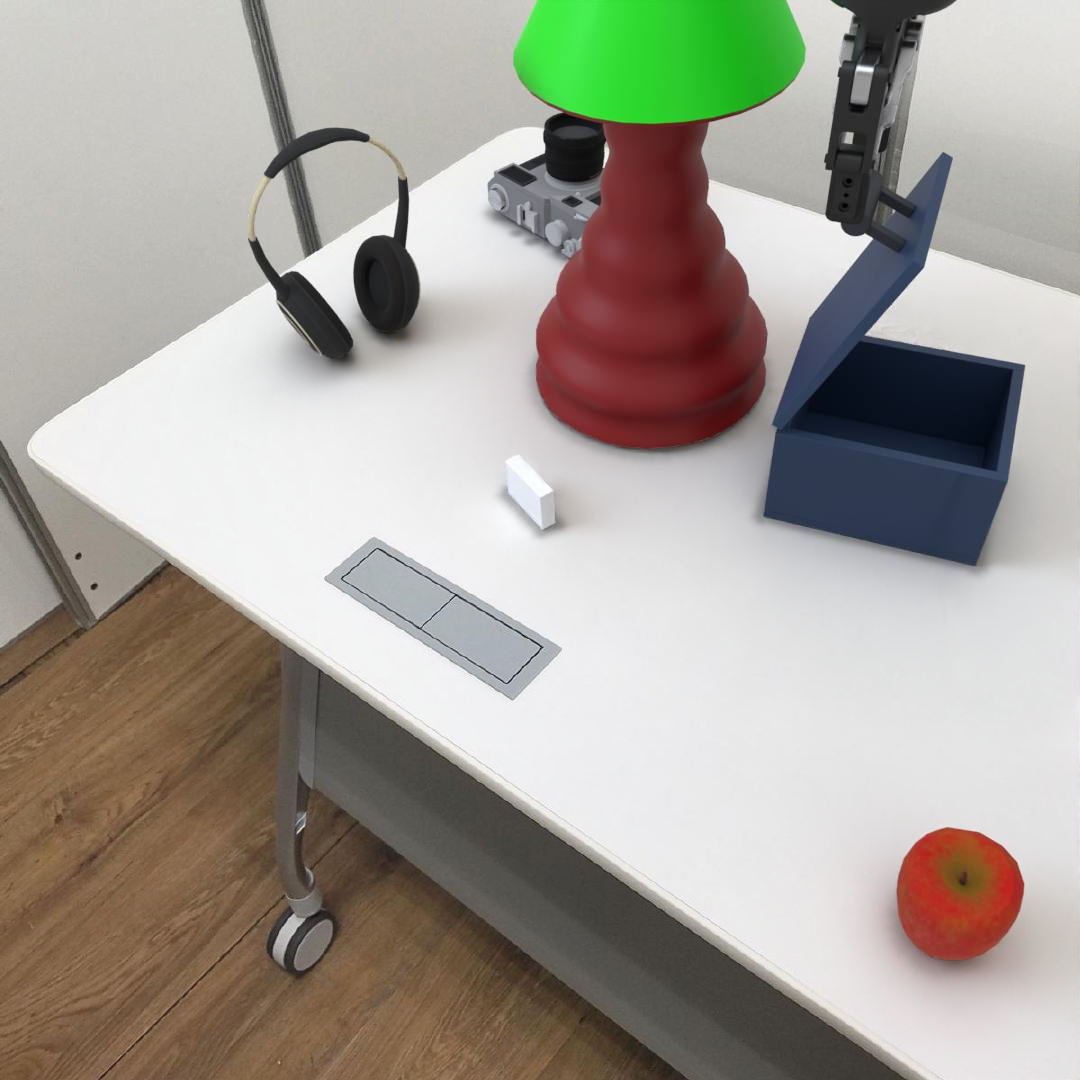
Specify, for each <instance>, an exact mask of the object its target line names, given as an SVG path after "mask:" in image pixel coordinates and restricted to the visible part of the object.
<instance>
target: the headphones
mask: <svg viewBox="0 0 1080 1080" xmlns="http://www.w3.org/2000/svg"><path fill="white" fill-rule="evenodd" d="M352 141H353V142H360V143H367V144H370V145H373V146H375V147H377V148H378V149H380V150H381V151H382V152H384V153H385V155H387V156H388V158H390V160H391V161H392V163H393V164H394V166H395V168H396V169H397V173H398V176H397V182H398V183H397V186H398V188H397V189H398V202H397V213H396V219H395V224H394V231H393V236H390V235H386V234H379V235H372V236H369V237H368V238H367V239H365V240H363V241H362V242H361V244H360V246H359V247H358V249H357V251H356V254H355V256H354V261H353V269H352V270H353V271H352V273H353V275H352V276H353V277H352V279H353V289H354V293H355V298H356V300H357V301H356V302H357V303H358V307H359V310H360V311H361V313H362V315H363V317H364V318H365V320H366V321H367V323H369V325H371V326H372V327H373V328H374V329H375V330H377V331H380V332H383V333H387V334H388V333H396V332H399V331H402V330H403V329H404V330H405V328H406V327H407V326H408V325H409V324H410V322H411V321H412V319H413V318H414V316H415V314H416V311H417V309H418V307H419V304H420V299H421V279H420V278H421V277H420V273H419V269H418V267H417V264H416V262H415V260H414V258H413V256H412V255H411V253H409V251H408V249H407V239H408V238H407V237H408V230H409V229H408V227H409V214H410V213H409V212H410V194H409V184H408V182H409V181H408V177H407V176H406V173H405V169H404V167H403V165H402V163H401V161H400V160H399V159H398V157H397V156H396V155H395V154H394V152H393V151H392V150H390V148H388V147H387V146H386V145H385V144H384V143H382V142H381V141H379V140H377V139H376V138H375V139H374V138H373V137H371V136H370V134H369V133H366V132H363V131H360V130H357V129H354V128H349V127H348V128H347V127H324V128H320V129H316V130H312V131H308V132H306V133H305V134H302V135H301V136H299V137H297V138H295V139H293V140H292V141H290V142H289V143H288V144H287V145H286V146H284V147H283V148H282V149H281V151H280V152H278V153H277V155H276V156H274V157H273V159H272V160H271V162H270V163H269V165H268V166H267V168H266V170H265V171H264V172H263V177H262V179H261V181H260V182H259V185H258V186H257V188H256V190H255V192H254V194H253V197H252V200H251V203H250V206H249V210H248V214H247V215H248V216H247V235H248V239H247V241H248V243H249V246H250V249H251V251H252V253H253V256H254V259H255V261H256V263H257V264H258V266H259V268H260V269H261V271H262V273H263V274H264V276H265V277H266V279H267V280H268V282H269V283H270V285H271V286H272V288H273V289H274V290H275V296H276V297H275V298H276V299H275V302H276V304H277V306H278V308H279V310H280V311H281V313H282V316H283V317H284V318H285V319H286V321H288V323H289V324H290V326H291V327H292V328H293V330H294V331H295V332H296V333H297V335H298V336H299V337H300V338H301V340H303V342H305V344H306V345H307V346H308V347H310V349H312V350H313V351H314V352H315V353H317V354H318V355H319V356H321V357H322V356H324V357H328V358H334V359H340V358H343V357H346V355H347V354H349V353H350V352H351V350H352V348H353V347H354V338H353V337H352V334H351V333H350V331H349V329H348V328H347V326H346V325H345V323H344V322H343V321H342V319H341V318H340V317H339V315H338V314H337V313H336V311H335V310H334V309H333V307H332V306H331V305H330V303H328V301H327V300H326V299H325V298H324V297H323V295H322V294H321V293H320V292H319V291H318V290H317V288H316V287H315V286H314V285H313V284H312V283H311V281H309V279H307V278H306V277H305V276H304V275H303V274H301V273H300V272H299V271H295V270H291V271H287V272H285V273H284V274H283V275H281V276H280V274H279V273H278V272H277V271H276V270H275V268H274V266H273V265H272V264H271V263H270V260H268V258H267V256H266V254H265V251H264V249H263V248H262V246H261V243H260V241H259V239H258V237H257V236H256V233H255V219H256V212H257V209H258V205H259V203H260V200H261V197H262V196H263V193H264V191H265V190H266V188H267V187H268V185H269V183H270V181H271V180H273V179H274V178H275V177H276V176H277V175H278V174H279V173H280V172H282V171H283V169H285V168H286V167H287V166H289V164H292V163H293V162H294V161H295V160H297V159H298V158H299V157H302V156H303V155H305V154H308V153H309V152H312V151H315V150H319V149H321V148H323V147H326V146H328V145H330V144H333V143H338V142H352Z"/></svg>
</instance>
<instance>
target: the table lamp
mask: <svg viewBox="0 0 1080 1080" xmlns="http://www.w3.org/2000/svg"><path fill="white" fill-rule="evenodd" d="M806 51H807V47H806V45H805V41H804V38H803V36H802V33H801V30H800V29H799V26H798V24H797V21H796V19H795V17H794V15H793V13H792V10H791V8H790V5H789V3H788V1H787V0H536V1H535V4H534V6H533V8H532V10H531V12H530V15H529V17H528V19H527V22H526V24H525V25H524V28H523V30H522V32H521V34H520V37H519V39H518V41H517V43H516V46H515V47H514V49H513V59H512V60H513V61H512V65H513V68H514V70H515V73H516V75H517V78H518V79H519V81H520V83H521V84H522V85H523V86H524V87H525V88H526V90H527V91H528V92H529V93H530V94H531V95H532V96H533V97H535V98H536V99H538V100H539V101H541V102H542V103H543V104H545V105H547V106H548V107H550V108H553V109H555V110H557V111H559V112H560V113H562V112H564V113H566V114H568V115H571V116H575V117H578V118H582V119H586V120H589V121H593V122H598V123H603V127H604V134H605V137H606V145H607V147H608V157H607V159H606V162H605V165H604V166H603V168H604V170H603V173H602V177H601V182H600V190H601V204H600V205H599V207H598V208H597V209H596V210H595V211H594V213H593V214H592V215H591V217H590V219H589V220H588V222H587V223H586V225H585V227H584V231H583V234H582V239H581V248H580V249H579V250H578V251H577V252H576V253H575V254H574V255H573V256H572V257H571V258H569V259H568V261H566V263H565V265H564V266H563V268H562V269H561V271H560V272H559V276H558V279H557V282H556V285H555V286H556V287H555V295H554V296H552V297H551V299H550V300H549V302H548V304H547V305H546V306H545V308H544V310H543V312H542V313H541V315H540V317H539V320H538V322H537V326H536V329H535V346H536V351H537V355H538V357H537V361H536V364H535V379H536V380H535V381H536V384H537V388H538V392H539V394H540V396H541V398H542V400H543V402H544V403H545V405H546V406H547V408H548V410H549V411H551V412H552V414H554V416H556V417H557V418H558V419H559V420H560V421H561V422H562V423H564V424H566V425H568V426H569V427H570V428H572V429H574V430H576V431H577V432H579V433H580V434H583V435H586V436H588V437H590V438H591V439H595V440H597V441H600V442H602V443H606V444H610V445H613V446H617V447H622V448H629V449H630V448H631V449H644V450H648V449H650V450H651V449H663V448H664V449H665V448H674V447H681V446H686V445H687V446H688V445H693V444H696V443H698V442H702V441H705V440H708V439H711V438H714V437H715V436H717V435H719V434H720V433H722V432H724V431H726V430H728V429H730V428H731V427H734V426H735V425H736V424H737V423H738V422H740V421H741V420H742V419H743V418H744V417H746V416H747V415H748V414H749V413H750V412H751V410H752V409H753V408H754V406H756V404H757V403H758V401H760V398H761V395H762V393H763V391H764V388H765V386H766V379H767V377H766V376H767V368H766V363H765V359H764V358H765V355H766V352H767V347H768V346H767V345H768V336H769V335H768V334H769V333H768V328H767V323H766V319H765V316H764V315H763V314H762V312H761V310H760V308H759V306H758V305H757V303H756V302H755V300H754V298H752V297H751V295H750V287H749V286H750V285H749V281H748V276H747V273H746V271H745V270H744V269H743V266H742V264H741V263H740V262H739V260H738V259H737V257H735V256H734V254H732V252H730V250H729V249H728V248H726V244H727V242H726V240H727V239H726V234H725V230H724V229H725V228H724V226H723V224H722V222H721V220H720V218H719V217H718V215H717V213H716V212H715V211H714V210H713V208H712V207H711V206H710V205H709V203H708V195H709V189H710V179H709V173H708V169H707V165H706V162H705V160H704V158H703V154H702V153H703V149H702V148H703V147H704V143H705V140H706V138H707V134H708V130H709V126H710V125H709V124H710V123H713V122H718V121H720V120H724V119H727V118H731V117H735V116H739V115H742V114H744V113H747V112H749V111H751V110H753V109H756V108H758V107H761V106H763V105H765V104H767V103H768V102H770V101H771V100H773V99H774V98H776V97H778V96H779V95H782V93H783V92H784V91H785V90H787V88H788V87H789V86H790V85H792V84H793V82H795V80H796V79H797V77H798V75H799V74H800V72H801V70H802V68H803V66H804V65H805V61H806Z"/></svg>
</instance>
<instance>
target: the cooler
mask: <svg viewBox="0 0 1080 1080" xmlns="http://www.w3.org/2000/svg"><path fill="white" fill-rule="evenodd" d="M1025 371H1026V364H1023V363H1019V362H1018V363H1017V362H1012V361H1008V360H1001V359H996V358H990V357H985V356H980V355H974V354H969V353H963V352H958V351H953V350H946V349H942V348H935V347H931V346H925V345H919V344H915V343H909V342H903V341H897V340H893V339H888V338H882V337H877V336H872V335H871V336H870V335H866V334H865V335H864V337H863V338H862V339H861V340H860V341H859V342H858V343H857V344H856V346H855V347H854V348H853V349H852V350H851V351H850V352H849V354H848V355H847V356H846V357H845V358H844V359H843V360H842V362H841V363H840V364H839V365H838V366H837V367H836V368H835V370H834V371H833V372H832V373H831V374H830V375H829V376H828V377H827V379H826V380H825V381H824V382H823V383H822V384H821V385H820V387H819V388H818V389H817V390H816V391H815V392H814V393H813V395H812V396H811V397H810V398H809V399H808V400H807V401H806V402H805V404H804V405H803V406H802V407H801V408H800V409H799V410H798V412H797V413H796V414H795V415H794V416H793V417H792V418H791V420H790V421H789V422H788V423H787V424H786V425H785V426H784V428H783V429H782V430H779V429H778V428H776V430H775V433H774V439H773V440H774V441H773V447H772V453H771V460H770V466H769V467H770V468H769V474H768V482H767V488H766V494H765V501H764V509H763V517H764V518H769V519H772V520H773V519H774V520H778V521H781V522H786V523H790V524H794V525H799V526H803V527H806V528H807V527H808V528H811V529H815V530H821V531H825V532H829V533H833V534H837V535H842V536H845V537H849V538H855V539H859V540H862V541H867V542H871V543H874V544H880V545H883V546H888V547H892V548H897V549H901V550H906V551H909V552H914V553H919V554H922V555H927V556H930V557H935V558H940V559H944V560H948V561H951V562H952V561H953V562H956V563H960V564H964V565H969V566H974V567H975V566H977V563H978V561H979V558H980V555H981V553H982V550H983V547H984V545H985V542H986V539H987V537H988V535H989V532H990V530H991V527H992V524H993V522H994V520H995V516H996V514H997V511H998V509H999V506H1000V503H1001V501H1002V498H1003V496H1004V493H1005V491H1006V487H1007V485H1008V481H1009V477H1010V476H1009V475H1010V469H1011V468H1010V467H1011V464H1012V463H1011V462H1012V455H1013V451H1014V450H1013V449H1014V442H1015V435H1016V429H1017V423H1018V416H1019V409H1020V404H1021V403H1020V402H1021V396H1022V389H1023V383H1024V376H1025Z"/></svg>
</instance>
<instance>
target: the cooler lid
mask: <svg viewBox="0 0 1080 1080" xmlns="http://www.w3.org/2000/svg"><path fill="white" fill-rule="evenodd" d="M953 160H954V157H953V156H951V155H950V154H948V153H946V152H944V151H941V153H940V154H939V156H938V157H937V158H936V160H935V161H934V162H933V163H932V164H931V166H930V167H929V168H928V169H927V171H926V172H925V173H924V174H923V176H922V177H921V178H920V180H918V182H917V183H916V184H915V186H914V187H913V188H912V190H911V191H910V192H909V193H908V195H907V196H906V197H903V196H901V195H899V194H898V193H896V192H895V191H893V190H891V189H890V188H888V187H886V186H885V178H884V176H883V175H882V173H881V172H880V171H878V170H876V169H874V170H873V171H872V177H871V182H870V187H869V193H868V198H867V204H866V209H865V214H864V216H863V219H862V221H861V222H860V223H859V224H855V225H853V224H847V223H840V228H841V230H842V231H843V233H845V234H846V235H848V236H850V237H862V236H863V235H866V236H868V237H870V238H872V240H870V242H869V243H868V244H867V246H866V247H865V248H864V250H863V251H862V252H861V253H860V254H859V256H858V257H857V258H856V259H855V261H854V262H853V263H852V264H851V266H850V267H849V268H848V269H847V270H846V271H845V273H844V274H843V276H842V277H841V278H840V280H839V281H838V282H837V283H836V284H835V286H834V287H833V288H832V289H831V291H830V292H829V293H828V294H827V296H825V298H824V299H823V301H822V302H821V303H820V304H819V306H818V307H817V308H816V309H815V311H814V312H813V313H812V314H811V315H810V317H809V318H808V321H807V324H806V327H805V329H804V332H803V335H802V337H801V341H800V343H799V346H798V349H797V352H796V355H795V357H794V360H793V363H792V366H791V369H790V372H789V374H788V377H787V380H786V383H785V386H784V389H783V391H782V394H781V397H780V400H779V403H778V405H777V408H776V411H775V415H774V417H773V419H772V422H771V426H772V427H774V428H776V429H777V428H778V429H779V430H782V429H783V428H784V426H785V425H786V424H787V423H788V422H789V421H790V420H791V418H792V417H793V416H794V415H795V414H796V413H797V412H798V410H799V409H800V408H801V407H802V406H803V405H804V404H805V402H806V401H807V400H808V399H809V398H810V397H811V396H812V395H813V393H814V392H815V391H816V390H817V389H818V388H819V387H820V385H821V384H822V383H823V382H824V381H825V380H826V379H827V377H828V376H829V375H830V374H831V373H832V372H833V371H834V370H835V368H836V367H837V366H838V365H839V364H840V363H841V362H842V360H843V359H844V358H845V357H846V356H847V355H848V354H849V352H850V351H851V350H852V349H853V348H854V347H855V346H856V344H857V343H858V342H859V341H860V340H861V339H862V338H863V337H864V335H866V334H868V332H869V331H870V330H871V329H872V328H873V327H874V325H875V324H876V323H877V322H878V321H879V320H880V318H881V317H882V316H883V315H884V314H885V313H886V312H887V311H888V310H889V308H890V307H891V306H892V305H893V304H894V302H896V300H897V299H898V298H899V297H900V296H901V294H903V292H905V290H907V288H908V287H909V286H910V284H911V283H912V282H913V281H914V280H915V279H916V278H917V276H918V275H919V274H920V273H921V272H923V270H924V268H925V266H926V262H927V258H928V255H929V250H930V247H931V243H932V239H933V236H934V232H935V228H936V224H937V221H938V216H939V214H940V213H939V212H940V210H941V205H942V201H943V198H944V193H945V190H946V186H947V182H948V179H949V175H950V171H951V168H952V163H953ZM879 202H881V203H882V204H883V205H885V206H887V207H888V208H890V209H892V210H894V212H893V213H892V215H890V217H889V218H888V219H887V221H886V222H885V223H884V225H882V224H881V223H879V222H878V221H876V220H874V217H875V213H876V210H877V206H878V204H879Z"/></svg>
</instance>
